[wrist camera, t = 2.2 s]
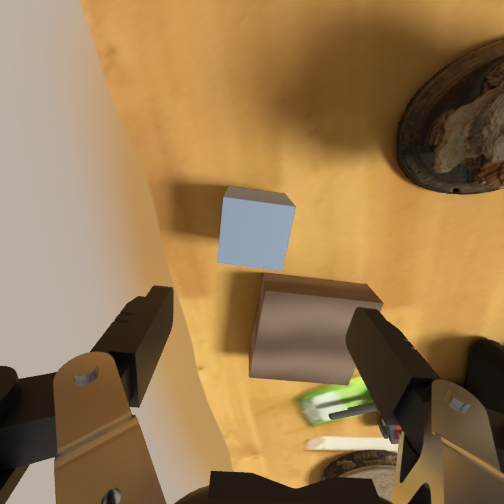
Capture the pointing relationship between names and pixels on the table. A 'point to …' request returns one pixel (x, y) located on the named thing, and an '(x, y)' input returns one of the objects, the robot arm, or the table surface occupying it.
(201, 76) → the table surface
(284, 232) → the blue cube
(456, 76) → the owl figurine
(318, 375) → the brown block
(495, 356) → the film camera
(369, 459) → the wood log slice
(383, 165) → the table surface
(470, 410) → the robot arm
